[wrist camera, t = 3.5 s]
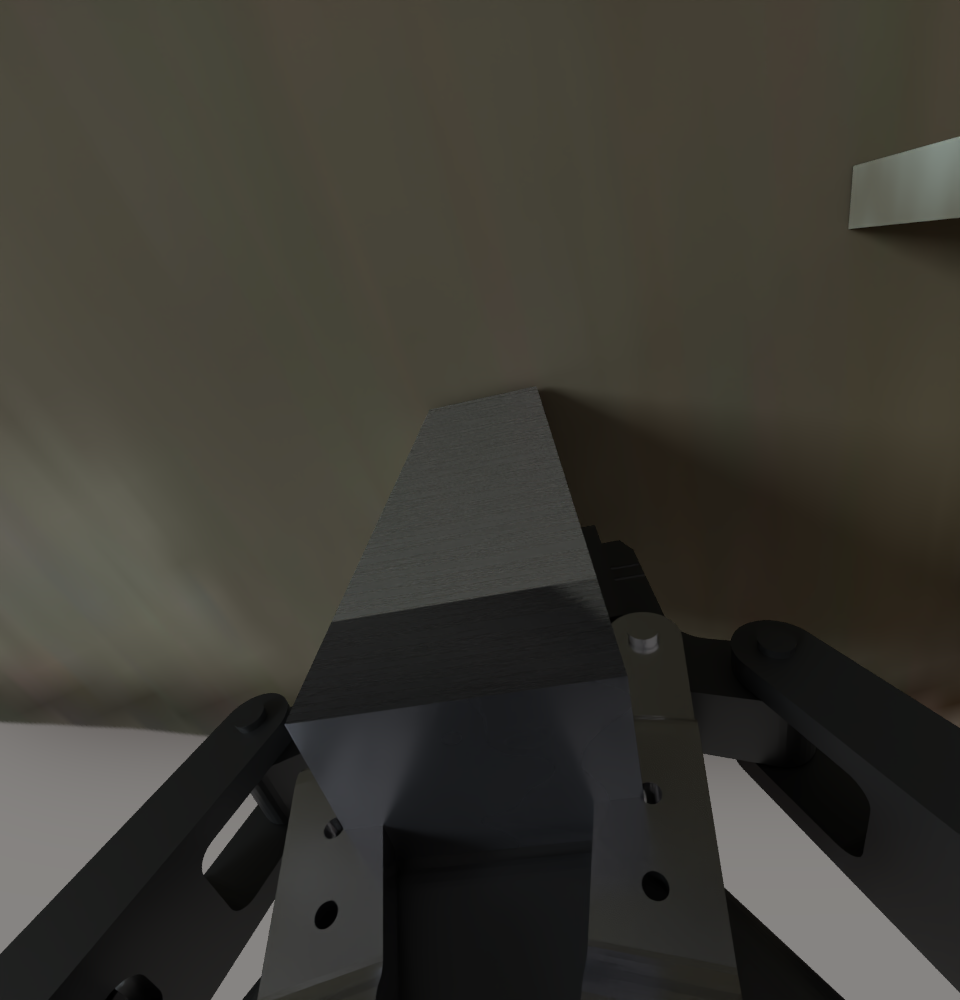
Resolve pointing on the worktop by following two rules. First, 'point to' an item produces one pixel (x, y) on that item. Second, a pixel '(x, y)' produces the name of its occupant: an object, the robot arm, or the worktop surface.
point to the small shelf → (907, 187)
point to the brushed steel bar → (472, 653)
